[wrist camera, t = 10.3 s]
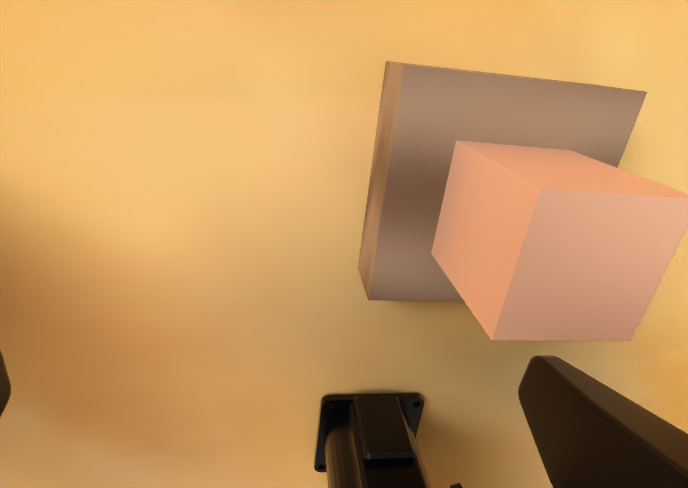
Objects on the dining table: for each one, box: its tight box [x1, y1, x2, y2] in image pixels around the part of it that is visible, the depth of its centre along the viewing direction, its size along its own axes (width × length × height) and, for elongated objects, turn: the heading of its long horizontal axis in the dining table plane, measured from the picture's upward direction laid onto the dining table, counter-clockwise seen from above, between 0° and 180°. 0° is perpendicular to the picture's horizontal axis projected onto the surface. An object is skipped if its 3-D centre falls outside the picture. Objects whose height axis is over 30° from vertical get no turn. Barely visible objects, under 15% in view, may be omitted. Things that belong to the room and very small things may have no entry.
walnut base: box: [358, 61, 647, 302], centre depth 19 cm, size 10×10×3 cm
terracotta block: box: [431, 140, 688, 341], centre depth 15 cm, size 5×5×6 cm
